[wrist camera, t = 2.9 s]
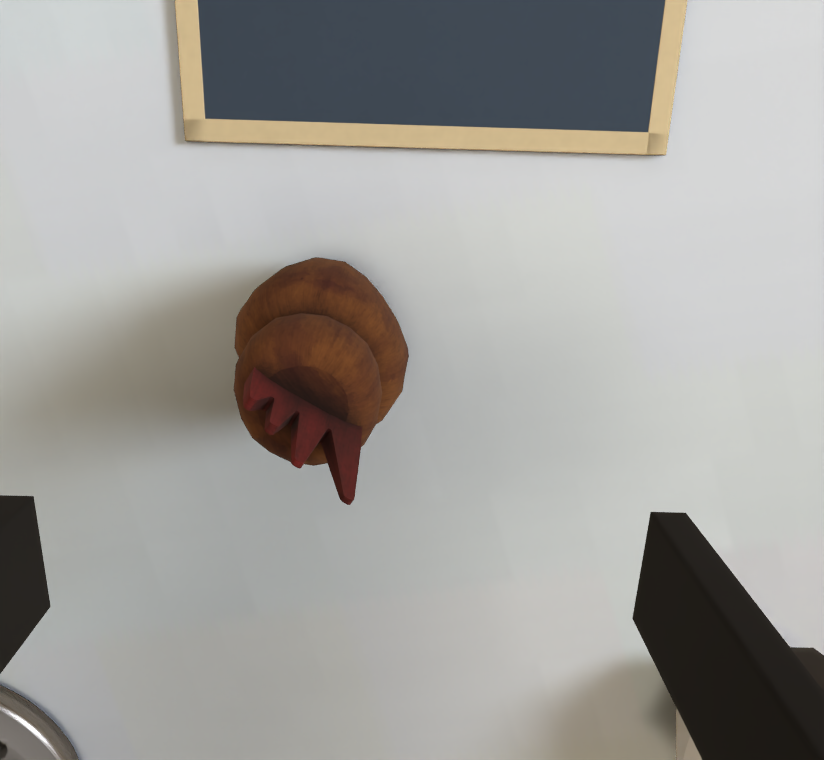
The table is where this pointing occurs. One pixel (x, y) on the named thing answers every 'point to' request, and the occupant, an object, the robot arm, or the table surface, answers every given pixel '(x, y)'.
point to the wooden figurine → (318, 366)
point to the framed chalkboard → (432, 73)
